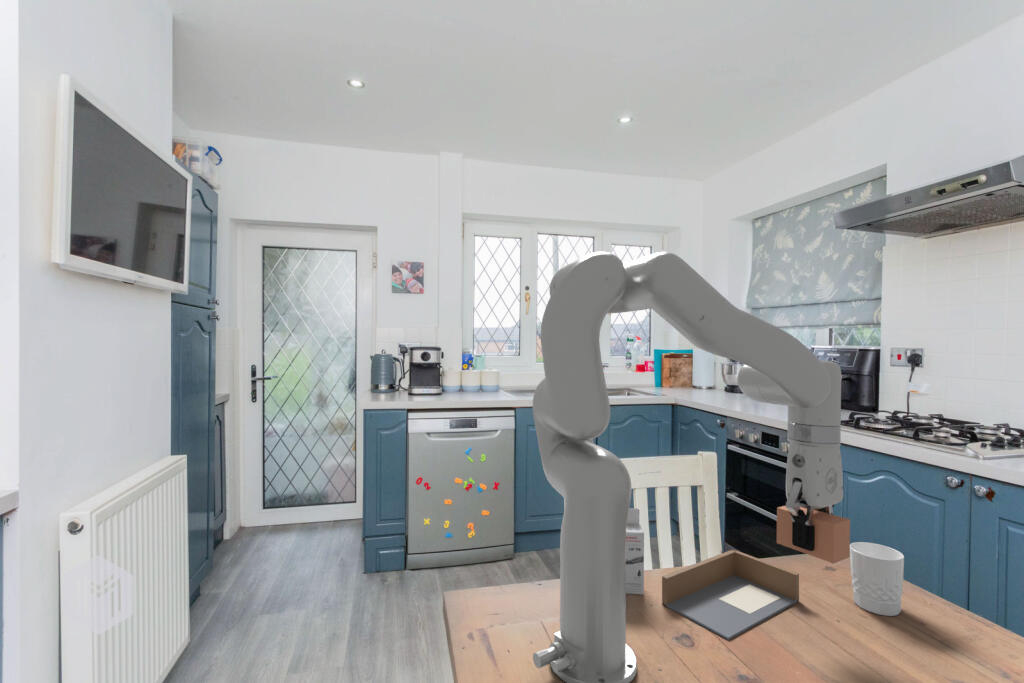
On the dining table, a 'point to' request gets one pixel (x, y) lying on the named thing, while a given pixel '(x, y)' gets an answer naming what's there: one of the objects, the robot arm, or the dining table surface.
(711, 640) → the dining table surface
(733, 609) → the arena
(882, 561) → the white cup
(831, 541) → the rust block
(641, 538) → the ink box
